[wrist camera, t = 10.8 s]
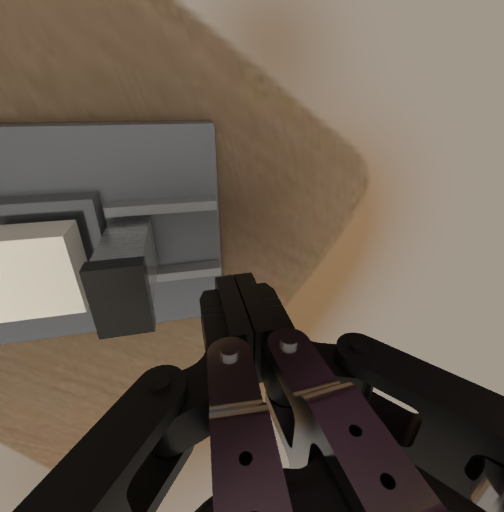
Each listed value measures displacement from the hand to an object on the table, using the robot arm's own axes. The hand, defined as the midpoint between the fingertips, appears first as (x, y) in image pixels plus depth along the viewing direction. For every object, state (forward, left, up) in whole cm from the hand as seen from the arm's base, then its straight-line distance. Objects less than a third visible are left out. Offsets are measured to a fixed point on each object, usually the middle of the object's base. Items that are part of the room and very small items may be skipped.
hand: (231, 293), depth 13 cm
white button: (-9, 0, -5) cm, 10 cm away
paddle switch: (-4, 0, -6) cm, 8 cm away
